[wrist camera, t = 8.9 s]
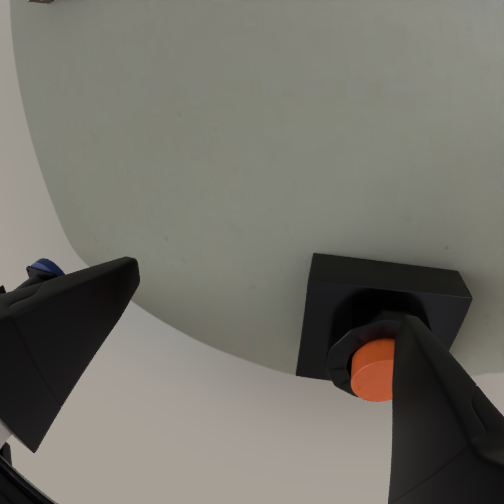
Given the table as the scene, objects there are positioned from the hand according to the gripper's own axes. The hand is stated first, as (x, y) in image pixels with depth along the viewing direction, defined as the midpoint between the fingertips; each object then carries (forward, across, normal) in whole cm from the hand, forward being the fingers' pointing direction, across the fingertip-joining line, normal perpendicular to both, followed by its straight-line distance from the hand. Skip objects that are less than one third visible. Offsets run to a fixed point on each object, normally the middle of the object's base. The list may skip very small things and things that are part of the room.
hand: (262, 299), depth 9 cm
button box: (+10, -6, +7) cm, 14 cm away
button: (+5, -7, +7) cm, 11 cm away
